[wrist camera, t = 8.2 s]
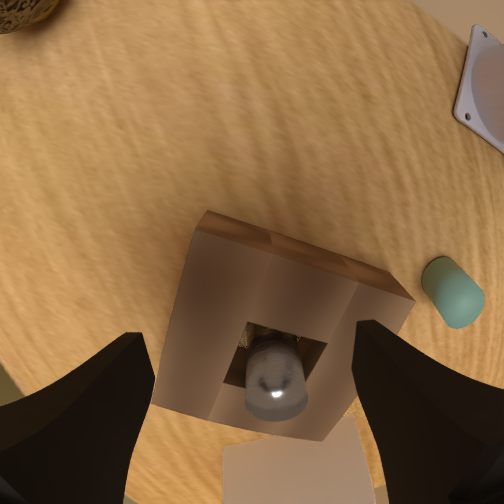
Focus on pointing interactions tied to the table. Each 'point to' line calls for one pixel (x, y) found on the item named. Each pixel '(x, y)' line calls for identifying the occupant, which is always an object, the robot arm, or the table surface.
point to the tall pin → (274, 375)
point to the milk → (299, 469)
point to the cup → (24, 13)
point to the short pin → (453, 292)
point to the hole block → (268, 323)
